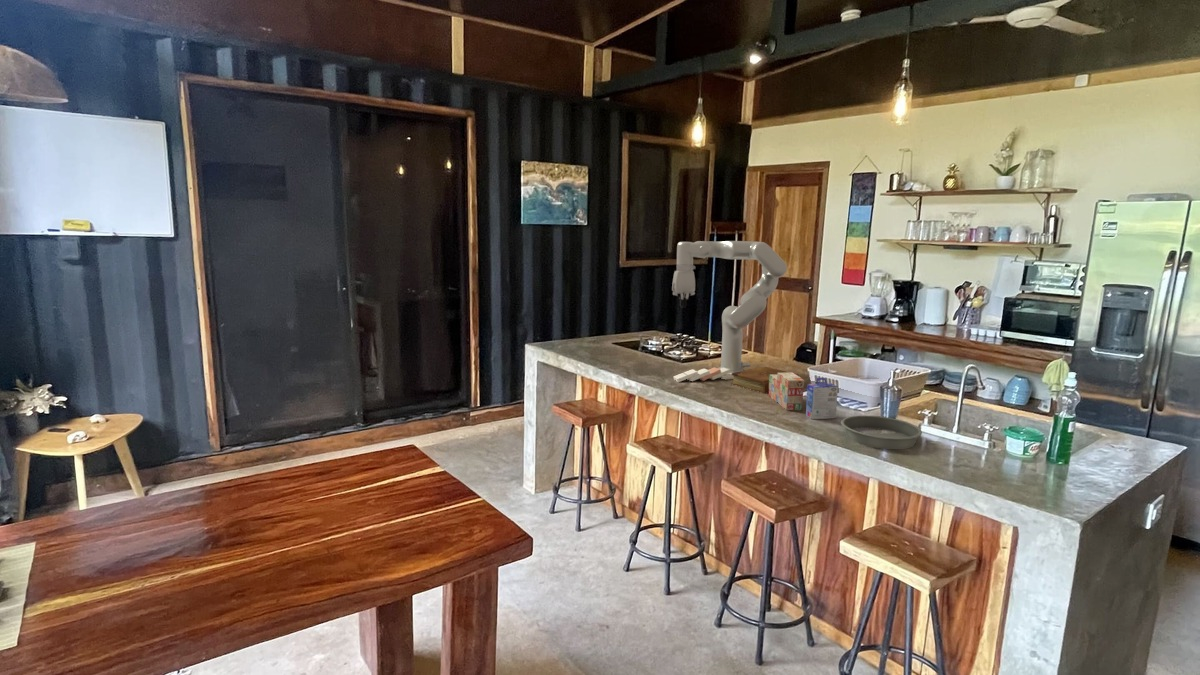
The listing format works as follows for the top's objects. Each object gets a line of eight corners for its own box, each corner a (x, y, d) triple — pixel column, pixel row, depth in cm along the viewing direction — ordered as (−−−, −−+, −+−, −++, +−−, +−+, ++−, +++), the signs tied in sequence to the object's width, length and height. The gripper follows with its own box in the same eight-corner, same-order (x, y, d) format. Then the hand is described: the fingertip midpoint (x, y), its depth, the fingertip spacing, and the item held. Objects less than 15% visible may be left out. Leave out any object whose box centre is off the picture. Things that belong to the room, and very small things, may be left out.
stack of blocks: (767, 396, 261) (769, 367, 258) (782, 395, 261) (784, 367, 259) (786, 411, 240) (788, 379, 238) (802, 411, 240) (804, 379, 238)
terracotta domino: (697, 378, 288) (714, 370, 291) (703, 381, 284) (721, 372, 287) (696, 375, 288) (714, 367, 291) (702, 377, 283) (720, 369, 286)
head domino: (674, 379, 286) (693, 372, 288) (678, 382, 281) (698, 374, 283) (673, 376, 286) (692, 369, 288) (677, 379, 281) (697, 371, 283)
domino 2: (706, 377, 290) (723, 370, 294) (712, 379, 286) (730, 372, 289) (705, 374, 290) (723, 367, 293) (712, 376, 285) (729, 369, 289)
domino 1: (686, 379, 287) (705, 371, 289) (690, 381, 282) (710, 373, 285) (685, 376, 287) (704, 368, 289) (689, 378, 282) (709, 370, 284)
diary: (764, 395, 264) (764, 381, 263) (730, 385, 279) (731, 373, 278) (798, 386, 277) (799, 374, 276) (765, 378, 292) (765, 366, 291)
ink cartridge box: (828, 414, 236) (831, 376, 233) (836, 418, 231) (839, 380, 228) (804, 415, 234) (807, 377, 232) (811, 419, 229) (814, 381, 226)
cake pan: (933, 440, 208) (935, 427, 208) (898, 457, 193) (899, 443, 192) (863, 422, 227) (864, 410, 226) (826, 436, 212) (827, 423, 211)
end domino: (717, 377, 292) (735, 375, 295) (722, 380, 287) (741, 378, 290) (717, 374, 291) (736, 372, 295) (722, 376, 287) (741, 374, 290)
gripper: (696, 267, 298) (694, 306, 302) (666, 268, 295) (665, 306, 298) (702, 268, 291) (701, 308, 295) (672, 269, 288) (671, 308, 291)
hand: (683, 307), depth 296 cm, fingers closed
